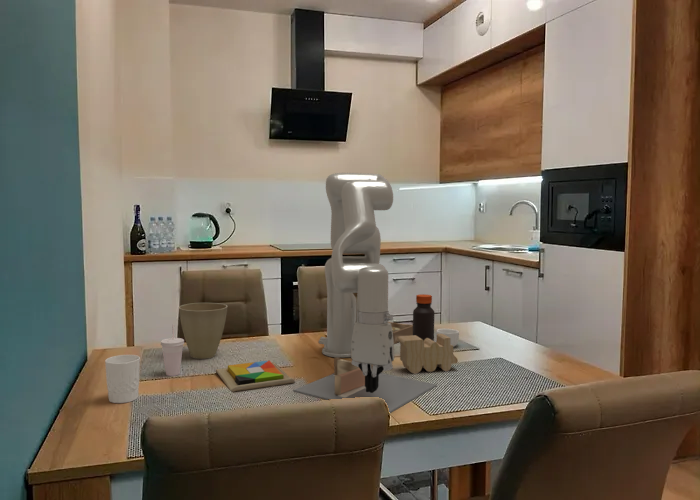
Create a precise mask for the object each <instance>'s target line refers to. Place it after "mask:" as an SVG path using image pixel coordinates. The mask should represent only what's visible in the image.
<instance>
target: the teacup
mask: <svg viewBox="0 0 700 500" xmlns="http://www.w3.org/2000/svg"><path fill="white" fill-rule="evenodd" d="M435 334H436V338H437V334H444V335H446V336H448V337H450V344H451V345H453V348H454V347H456V346H457V345H458V342H459V338H460V336H459V335H460V331H459V330H458V329H452V328H438V329H436V331H435Z"/></svg>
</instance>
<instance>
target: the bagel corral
mask: <svg viewBox="0 0 700 500" xmlns="http://www.w3.org/2000/svg"><path fill="white" fill-rule="evenodd" d="M388 323H391V326H392V328H393V327H394V328H399V329H400V330H397V331H395V332H393V339H394V345H396V344H398V343H399V342H398V340H397V337H399V336H412V335H413V324H406V323H400V322H392V321H388Z"/></svg>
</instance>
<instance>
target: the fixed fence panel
mask: <svg viewBox="0 0 700 500" xmlns="http://www.w3.org/2000/svg"><path fill="white" fill-rule="evenodd" d="M333 359H334V363H333V365H334V367H333V369H334V370H333V374H334V375H340V374H343V373H346V372H349V371H352V370H355V369H358V368H359V367H357V366H354V365H352V360H345V359H342V358H339V357H333ZM371 367H372V369H373V365H372V364H371Z"/></svg>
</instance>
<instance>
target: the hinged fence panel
mask: <svg viewBox="0 0 700 500" xmlns="http://www.w3.org/2000/svg"><path fill="white" fill-rule="evenodd" d="M363 385H365V376H364V375H363V372H362V371H361V369H360V368H358V369H355V370H352V371H349V372H346V373H343V374H340V375H336V376H335V394H336V395H340V394H342V393H344V392H347V391H350V390H352V389H355V388H358V387H361V386H363Z"/></svg>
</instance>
